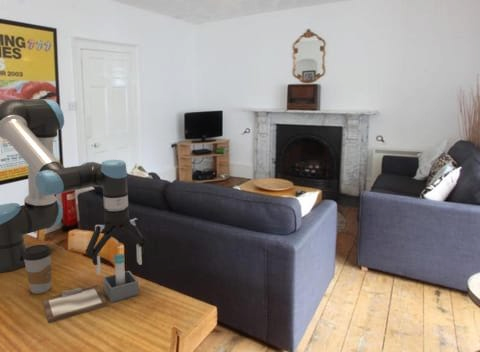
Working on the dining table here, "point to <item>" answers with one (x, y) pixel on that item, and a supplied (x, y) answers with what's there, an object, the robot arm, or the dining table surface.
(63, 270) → the dining table surface
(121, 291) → the grey open box
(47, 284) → the coffee cup
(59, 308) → the clipboard
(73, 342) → the dining table surface
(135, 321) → the dining table surface
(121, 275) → the marker
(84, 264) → the dining table surface
